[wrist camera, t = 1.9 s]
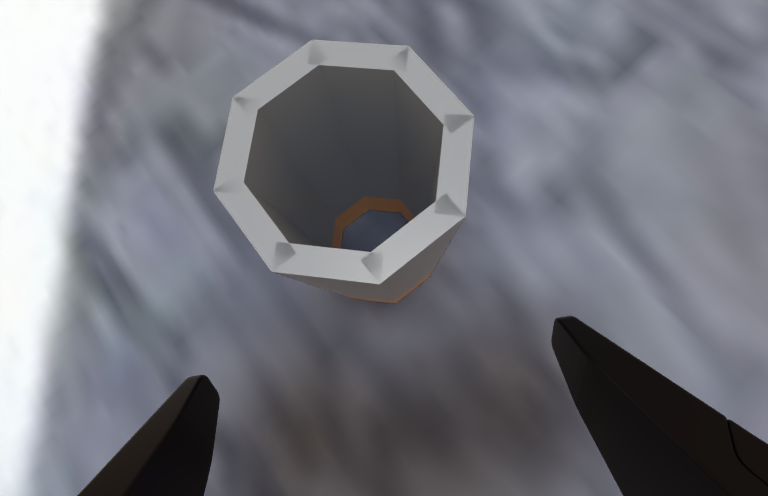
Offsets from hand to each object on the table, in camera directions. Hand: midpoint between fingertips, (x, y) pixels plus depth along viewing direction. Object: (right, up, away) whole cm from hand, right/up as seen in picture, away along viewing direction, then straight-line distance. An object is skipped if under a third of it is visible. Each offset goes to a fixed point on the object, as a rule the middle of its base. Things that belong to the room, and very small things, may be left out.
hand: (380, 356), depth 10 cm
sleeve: (0, +3, +12) cm, 12 cm away
